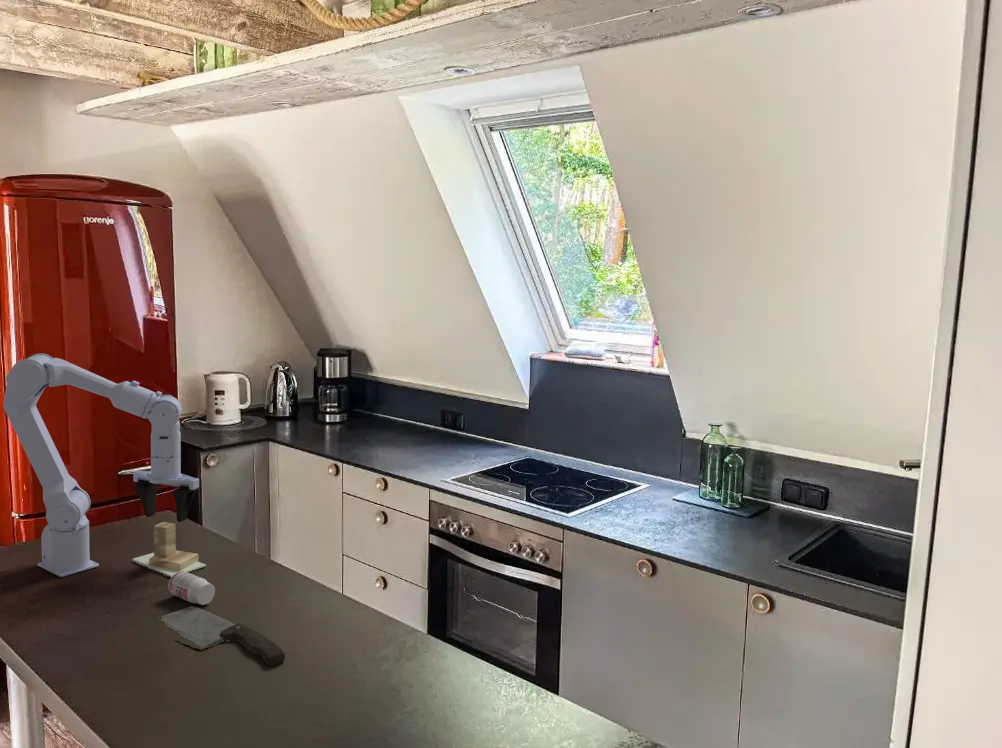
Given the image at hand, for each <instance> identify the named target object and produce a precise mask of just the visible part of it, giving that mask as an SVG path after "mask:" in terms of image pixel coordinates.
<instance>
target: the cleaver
mask: <svg viewBox="0 0 1002 748" xmlns="http://www.w3.org/2000/svg"><path fill="white" fill-rule="evenodd" d="M161 616H162V619H161V621H164V622H165V625H168V626H167V627H170V628H172V629H175V630H174V631H179V632H178V633H180V636H183V637H184V638H188V640H191V641H192V642H193V641H194V644H196V645H199V646H201V647H203V648H206V647H208V646H211V645H213V644H216V643H218V642H221V641H223V640H224V641H226V640H238V641H240V642H241V643H242V644H243V645H244V646H243V645H242V644H241V643H240V642H239V643H240V644H241V645H242V646H243V648H244V647H245V648H244V649H245V650H246V652H248V651H249V652H250V653H249V652H248V653H249V654H251V653H252V655H254V654H255V655H254V656H256V655H257V657H259V658H260V657H261V659H262V660H263V661H264V663H265V664H266V665H267V666H268V667H273V666H275V665H278V664H279V665H280V663H283V662H284V661H285V659H286V653H285V651H283V649H282V648H281V647H280V646H279V645H278V644H276V643H275V642H273V641H272V640H270V639H269V638H268V637H266V636H264V635H263V634H261V633H260V632H258V631H256V630H254V629H252V628H251V627H249V626H247V625H245V624H242V623H233V622H232V621H229V620H228V619H225V618H223V617H222V616H218V615H217V614H215V613H212V612H210V611H208V610H205V609H204V608H203V609H202V608H199V607H197V606H193V605H190V606H188V607H185V608H182V609H178V610H175V611H173V612H170V613H167V614H164V615H161ZM161 616H158V617H159V618H160V617H161ZM238 641H237V642H238ZM201 647H200V648H201ZM203 648H202V649H203Z"/></svg>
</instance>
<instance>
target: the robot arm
mask: <svg viewBox="0 0 1002 748" xmlns="http://www.w3.org/2000/svg"><path fill="white" fill-rule="evenodd" d="M5 382H6V387H5V392H4V399H3V405H2V406H3V409H4V412H5V413H6V416H7V418H8V419H9V421H10V424H11V426H12V428H13V429H14V432H15V434H16V436H17V438H18V440H19V441H20V444H21V446H22V449H23V451H24V452H25V454H26V457H27V459H28V461H29V462H30V464H31V467H32V468H33V471H34V472H35V475H36V477H37V479H38V480H39V484H40V485H41V486H42V500H43V504H44V506H45V510H46V512H45V518H46V522H47V525H45V527H44V528H43V529H42V533H41V536H40V537H41V561H40V562H37V566H38V567H39V568H42V569H44V570H45V571H48V572H49V573H51V574H53V575H56V576H57V577H60V578H63V577H67V576H70V575H73V574H74V575H75V574H77V573H79V572H84V571H87V570H91V569H93V568H97V567H99V566H100V565H99V563H98V562H96V561H94V560H92V559H91V557H90V552H91V551H90V520H89V519H88V518H87V516H86V513H87V512H88V511H89V510H90V508H91V503H92V502H91V497H90V496H89V494H88V493H87V491H85V490H84V489H82V487H80V485H79V484H78V482H77V480H76V479H75V478H73V477H72V476H71V475H70V474H69V472H68V470H67V468H66V465H65V464H64V462H63V460H62V457H61V455H60V453H59V451H58V449H57V447H56V445H55V442H54V441H53V439H52V437H51V434H50V432H49V431H48V428H47V427H46V424H45V422H44V420H43V418H42V416H41V414H40V412H39V409H38V407H37V403H38V401H40V400H39V399H40V397H41V396H42V394H43V392H44V391H45V389H46V388H47V387H48V388H52V387H53V388H54V387H59V386H65V385H70V386H73V387H76V388H78V389H82V390H85V391H87V392H90V393H93V394H96V395H99V396H101V397H105V398H108V399H109V400H110V402H111V404H112V406H113V407H114V408H116V409H119V410H121V411H124V412H127V413H130V414H131V415H134V416H136V417H139V418H142V419H148V422H150V424H151V433H150V470H136V471H135V472H132V474H133V476H132V478H133V479H132V480H133V482H135V483H137V484H135V485H133V490H134V492H136V494H137V495H138V498H139V499H140V501H141V502H140V503H141V504H142V507H143V510H144V513H145V517H146V518H150V517H153V516H155V515H156V511H157V494H158V489H159V486H160V485H165V486H171V487H178V488H176V489H173V490H172V495H173V497H174V500H175V507H176V508H175V509H176V522H177V523H181V522H184V521H186V520H187V517H188V514H189V510H190V508H191V504H192V503H193V502H192V501H193V499H194V497H195V495H196V494H197V492H198V490H199V488H200V478H197V477H194V476H193V477H192V476H190V475H186V474H184V473H181V471H182V470H181V463H182V462H181V461H182V460H181V459H182V457H181V456H182V455H181V454H182V451H181V449H182V448H181V443H182V442H181V441H182V440H181V439H182V438H181V435H182V434H181V431H180V430H181V424H180V420H179V419H180V417H181V415H182V411H183V409H182V408H183V406H182V405H181V402H180V401H179V399H177V398H176V397H175V396H173V395H171V394H163V392H161V391H159V390H158V391H157V392H155V391H153V390H150V389H149V388H145V387H143V386H140V382H139V381H136V380H132V381H131V382H130V381H128V380H126V381H125V380H124V381H123V382H118V383H116V382H114V381H112V380H109V379H107V378H105V377H102V376H100V375H98V374H96V373H93V372H91V371H89V370H87V369H84V368H82V367H80V366H78V365H76V364H73V363H71V362H69V361H67V360H65V359H63V358H58V357H54V358H53V357H52V356H50V355H49V354H47V353H35V354H32V355H31V356H29V357H28V358H25V359H20V360H18V361H17V362H16V363H14V365H13V366H12V367H11V369H10V370H9V372H8V373H7V375H6V376H5Z"/></svg>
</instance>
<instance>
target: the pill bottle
mask: <svg viewBox="0 0 1002 748" xmlns="http://www.w3.org/2000/svg"><path fill="white" fill-rule="evenodd" d="M167 587H168V591H169V593H170V594H171V595H173V596H175V597H177V598H179V599H182V600H184V601H186V602H189V603H190V604H198V605H200V606H204V605H205V604H206V605H208V604H210V603H211V602H212V600H213V599H214V597H215V594H216V593H215V592H216V588H215V587H214V584H212V583H210V582H208V581H207V579H205V578H203V577H200V576H198V575H195V574H192V573H188V572H186V571H179V572H177V573H175V574H174V575H173V576H172V577H171V578H170V579H169V580H168V585H167Z"/></svg>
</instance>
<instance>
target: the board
mask: <svg viewBox="0 0 1002 748" xmlns="http://www.w3.org/2000/svg"><path fill="white" fill-rule="evenodd" d="M153 556H154V552H151V553H147V554H145V555H140V556H138V557H132V562H133V561H134V562H133V563H135V562H136V563H135V564H137V563H138V564H137V565H140V566H142V565H143V566H142V567H144V566H146V567H148V568H147V569H149V568H150V569H149V570H151V569H153V570H155V571H158V572H160V573H163V574H165V575H167V576H170V577H172V576H173V575H174V574H175V573H177V572H179V570H173V569H167V568H161V567H156V566H150V565H149V558H151V557H153ZM205 566H206V567H207V564H205V563H202V562H200V561H197V562H195V563H194V564H192V565H190V566H188V567H186V568H185V569H183V570H181V571H186V572H190V571H192V570H196V569H199V568H202V567H205ZM146 567H145V568H146ZM153 570H152V571H153ZM155 571H154V572H155ZM158 572H157V573H158ZM160 573H159V574H160ZM165 575H164V576H165ZM167 576H166V577H167Z"/></svg>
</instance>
